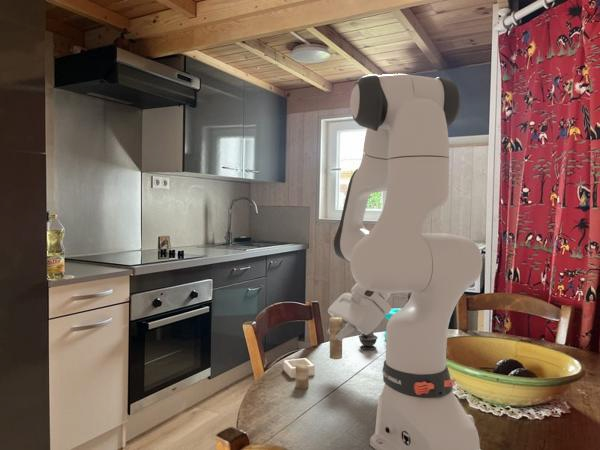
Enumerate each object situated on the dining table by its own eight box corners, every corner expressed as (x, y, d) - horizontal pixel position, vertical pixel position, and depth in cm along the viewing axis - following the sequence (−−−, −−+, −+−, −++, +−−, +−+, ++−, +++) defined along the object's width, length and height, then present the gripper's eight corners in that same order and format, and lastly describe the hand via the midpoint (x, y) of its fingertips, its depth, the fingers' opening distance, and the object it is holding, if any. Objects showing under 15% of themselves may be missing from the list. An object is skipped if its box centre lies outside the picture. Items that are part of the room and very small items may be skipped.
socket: (314, 375, 117) (314, 365, 117) (291, 378, 115) (291, 368, 115) (305, 366, 123) (305, 357, 123) (283, 369, 121) (283, 360, 121)
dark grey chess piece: (376, 345, 143) (377, 308, 142) (378, 351, 137) (378, 312, 136) (358, 345, 143) (358, 308, 143) (358, 350, 137) (359, 312, 137)
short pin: (310, 388, 108) (310, 368, 108) (298, 390, 107) (298, 369, 107) (305, 383, 111) (305, 364, 111) (293, 385, 110) (293, 365, 110)
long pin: (344, 358, 113) (344, 319, 113) (332, 359, 112) (332, 320, 112) (339, 354, 116) (338, 316, 116) (327, 356, 115) (327, 317, 115)
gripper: (343, 282, 126) (310, 319, 123) (379, 294, 107) (342, 338, 104) (357, 297, 128) (325, 334, 124) (395, 311, 108) (359, 355, 105)
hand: (333, 336), depth 114 cm, fingers closed on long pin, 3 cm apart
